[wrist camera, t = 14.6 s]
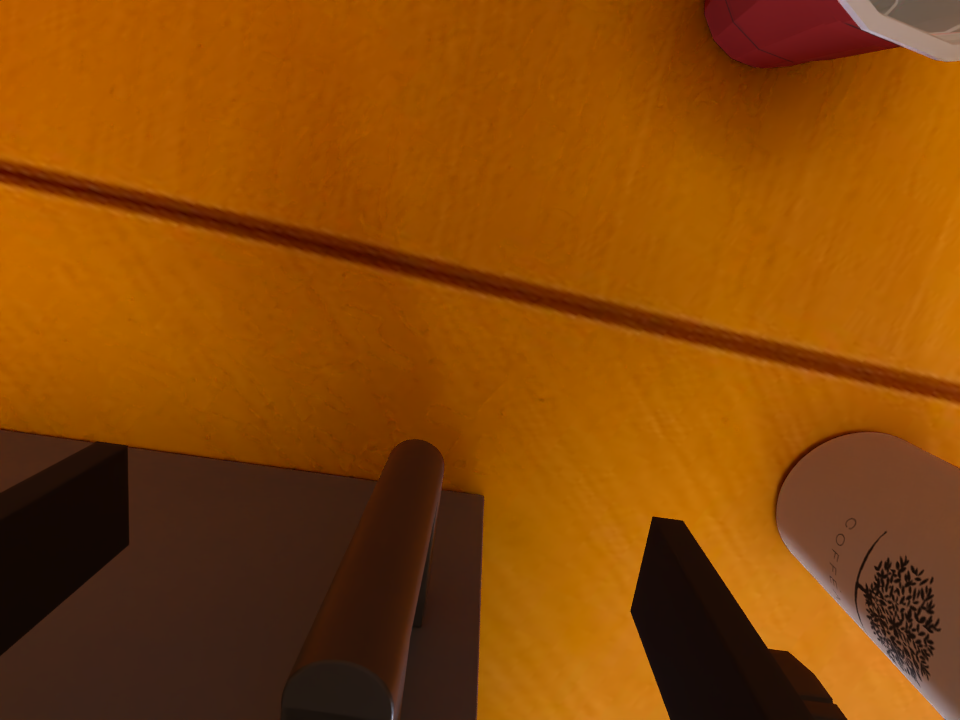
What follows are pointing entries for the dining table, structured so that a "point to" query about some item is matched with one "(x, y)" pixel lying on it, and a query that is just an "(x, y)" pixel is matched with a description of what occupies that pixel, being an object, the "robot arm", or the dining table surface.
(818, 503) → the travel mug
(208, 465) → the cupboard door
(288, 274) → the dining table surface
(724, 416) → the dining table surface
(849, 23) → the plastic cup
